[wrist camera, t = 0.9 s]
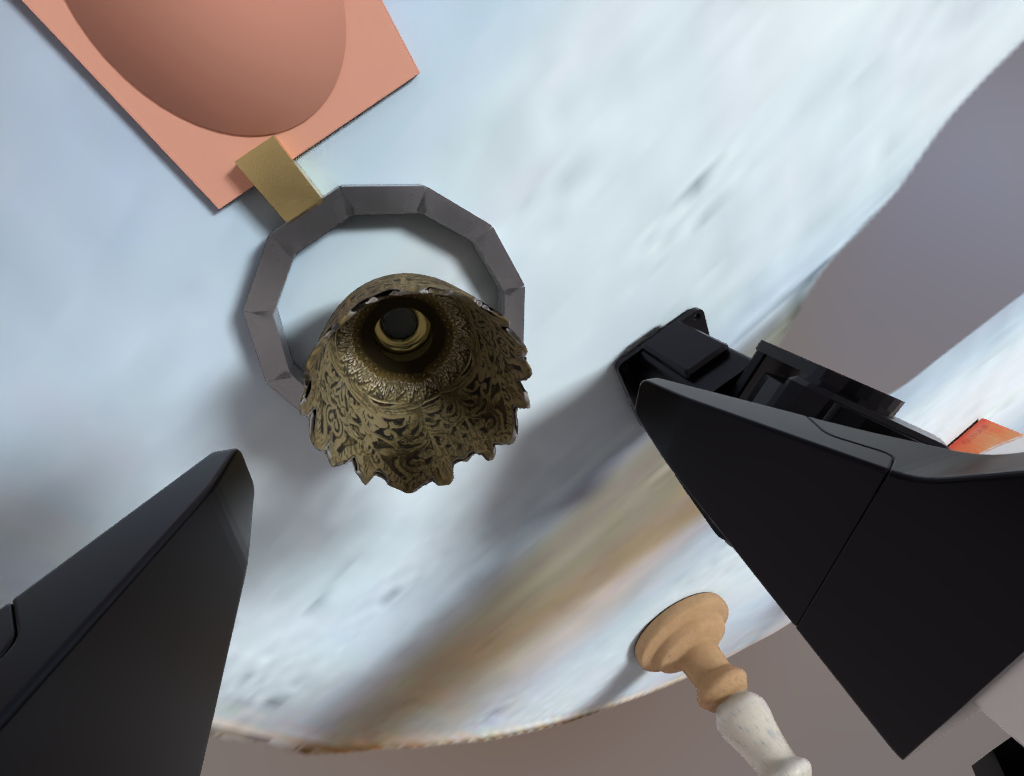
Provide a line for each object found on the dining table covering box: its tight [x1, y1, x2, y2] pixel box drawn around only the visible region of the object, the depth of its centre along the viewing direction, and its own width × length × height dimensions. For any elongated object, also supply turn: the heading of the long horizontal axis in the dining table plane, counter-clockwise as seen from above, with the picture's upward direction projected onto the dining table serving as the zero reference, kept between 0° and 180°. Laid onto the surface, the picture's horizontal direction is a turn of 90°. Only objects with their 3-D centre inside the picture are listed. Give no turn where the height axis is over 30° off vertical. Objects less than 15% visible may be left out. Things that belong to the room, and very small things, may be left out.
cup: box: [300, 273, 532, 493], centre depth 16 cm, size 8×7×8 cm
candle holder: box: [635, 593, 812, 776], centre depth 40 cm, size 12×12×20 cm
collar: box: [235, 136, 525, 418], centre depth 19 cm, size 17×12×1 cm
